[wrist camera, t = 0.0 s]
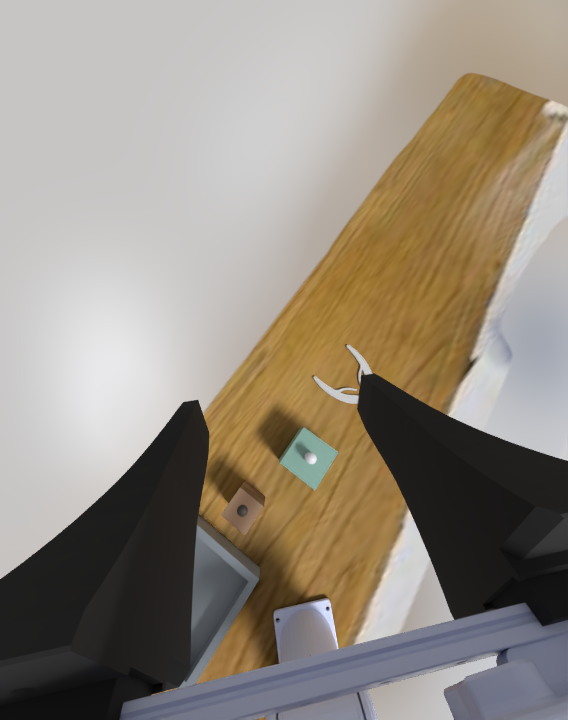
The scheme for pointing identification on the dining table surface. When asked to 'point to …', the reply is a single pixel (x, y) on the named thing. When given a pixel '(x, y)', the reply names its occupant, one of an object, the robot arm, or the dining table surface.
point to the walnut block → (244, 507)
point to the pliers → (342, 396)
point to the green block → (308, 457)
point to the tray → (216, 594)
